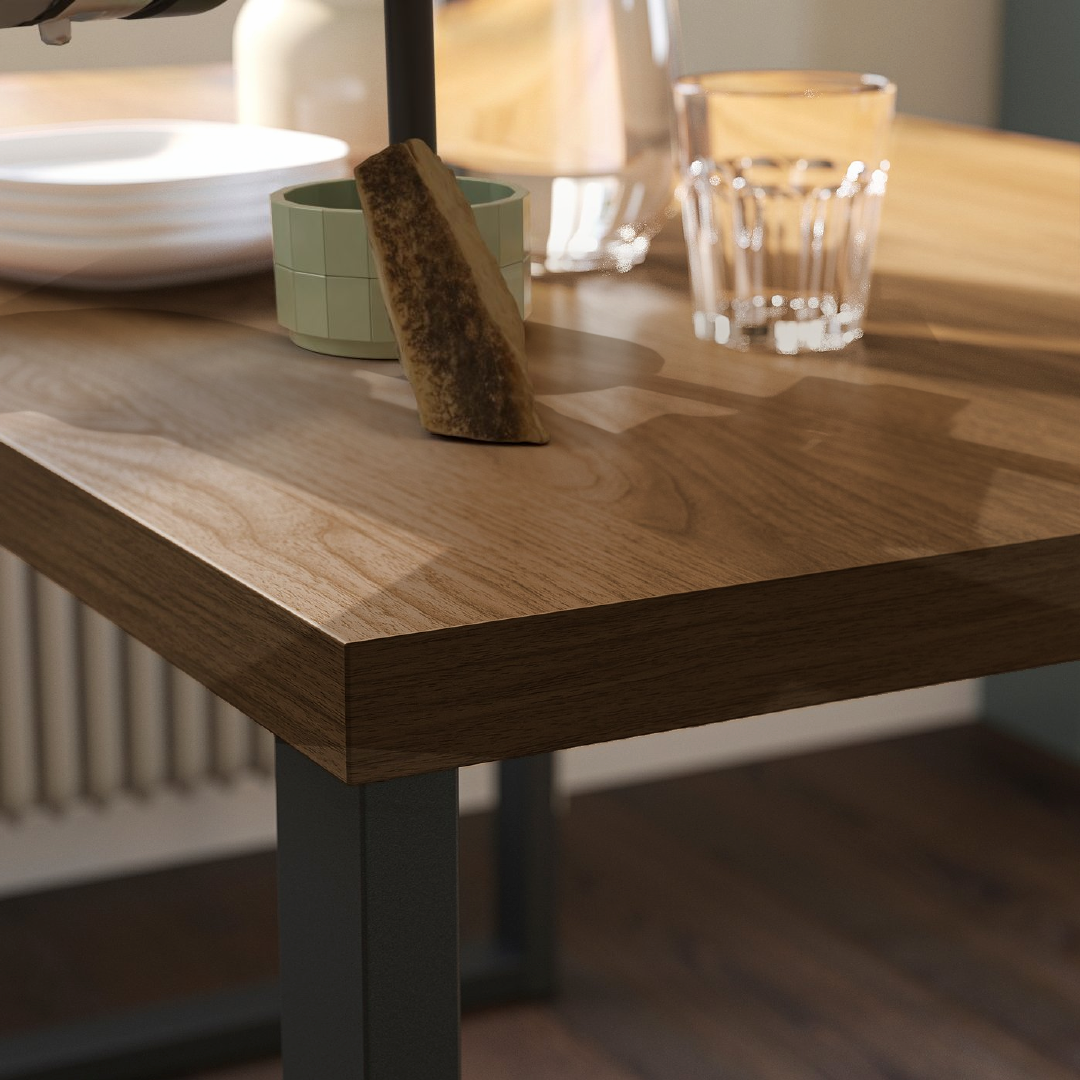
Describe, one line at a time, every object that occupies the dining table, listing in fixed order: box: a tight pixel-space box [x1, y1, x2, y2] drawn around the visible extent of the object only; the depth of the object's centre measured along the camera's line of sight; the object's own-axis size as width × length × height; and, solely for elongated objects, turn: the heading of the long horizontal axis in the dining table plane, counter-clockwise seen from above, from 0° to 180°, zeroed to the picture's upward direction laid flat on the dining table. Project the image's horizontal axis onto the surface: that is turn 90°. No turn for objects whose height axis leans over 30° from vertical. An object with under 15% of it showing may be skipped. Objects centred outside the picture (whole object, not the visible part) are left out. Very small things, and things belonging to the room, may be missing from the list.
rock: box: [353, 138, 551, 445], centre depth 63 cm, size 11×9×10 cm
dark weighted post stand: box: [360, 0, 438, 210], centre depth 71 cm, size 5×5×24 cm
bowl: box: [268, 175, 532, 360], centre depth 74 cm, size 11×11×6 cm
